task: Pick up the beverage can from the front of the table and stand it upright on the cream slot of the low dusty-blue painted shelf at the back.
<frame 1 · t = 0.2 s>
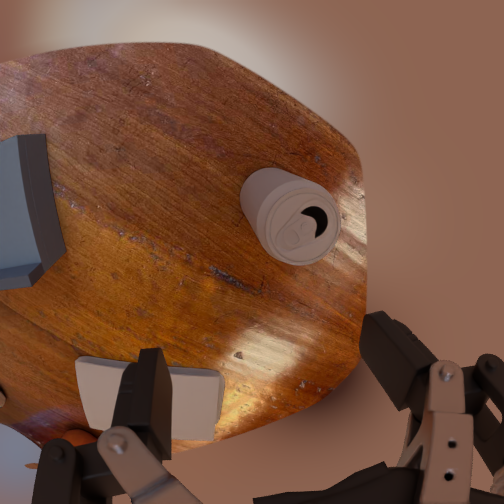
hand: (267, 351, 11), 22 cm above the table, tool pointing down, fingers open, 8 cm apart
beverage can: (267, 196, 31), on the table
fruit: (85, 434, 42), on the table
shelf: (1, 208, 25), on the table
book: (149, 397, 39), on the table
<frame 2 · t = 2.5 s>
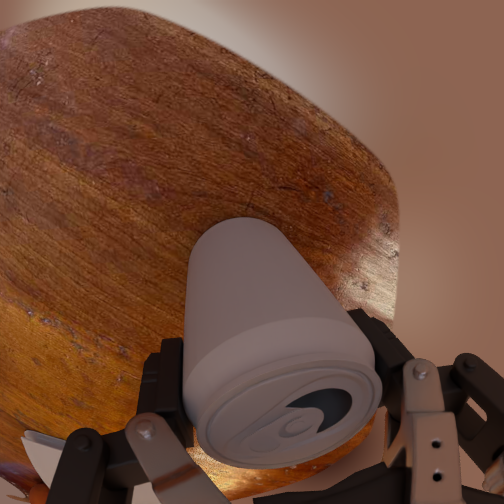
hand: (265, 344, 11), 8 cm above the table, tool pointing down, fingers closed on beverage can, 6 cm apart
beverage can: (239, 263, 18), on the table, touching gripper
fruit: (55, 487, 29), on the table
book: (111, 472, 26), on the table
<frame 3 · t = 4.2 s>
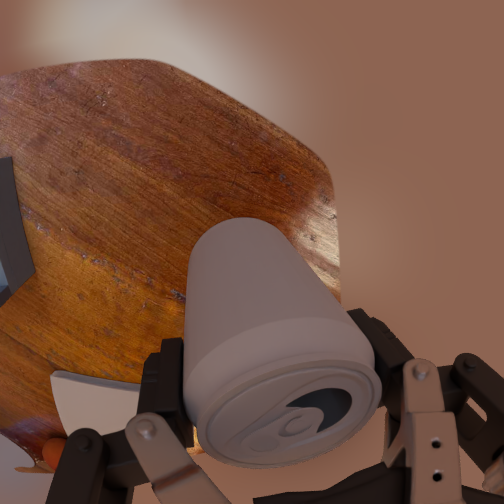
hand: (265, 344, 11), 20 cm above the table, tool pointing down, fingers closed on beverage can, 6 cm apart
beverage can: (239, 263, 18), point 12 cm above the table, touching gripper
fruit: (67, 442, 40), on the table
book: (123, 411, 38), on the table
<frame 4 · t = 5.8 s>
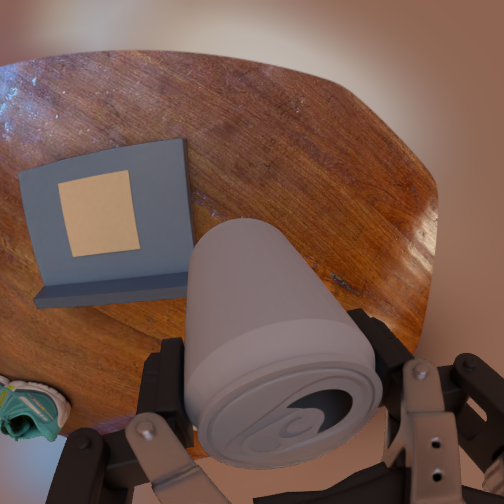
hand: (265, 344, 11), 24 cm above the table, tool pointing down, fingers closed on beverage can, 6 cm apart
beverage can: (240, 263, 18), point 16 cm above the table, touching gripper
running shoe: (18, 389, 38), on the table
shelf: (115, 210, 31), on the table
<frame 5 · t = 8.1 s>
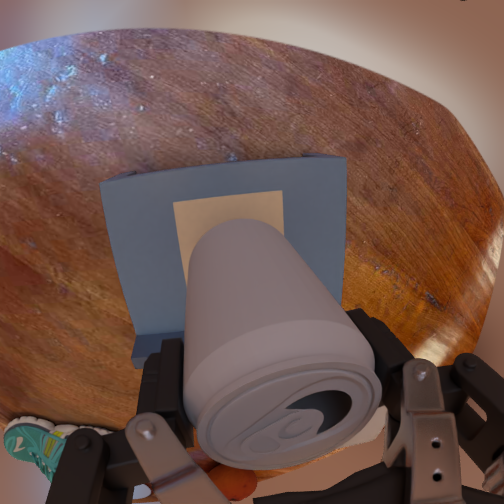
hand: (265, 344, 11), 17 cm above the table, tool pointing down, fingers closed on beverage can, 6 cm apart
beverage can: (239, 264, 18), point 9 cm above the table, touching gripper
fruit: (229, 465, 43), on the table
running shoe: (63, 431, 35), on the table
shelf: (226, 234, 27), on the table
book: (329, 413, 41), on the table
when the fingers open (14 cm above the table, at t = 9.5 s): beverage can stays where it is, resting on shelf.
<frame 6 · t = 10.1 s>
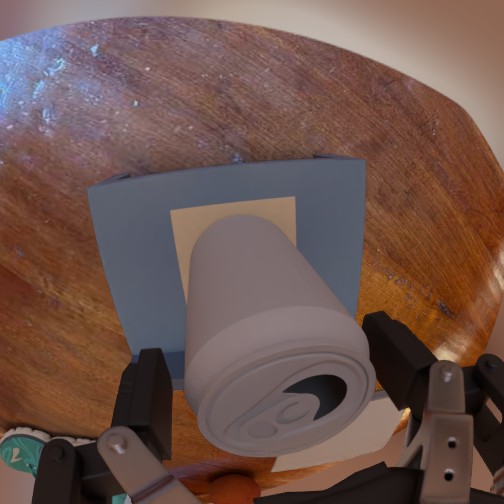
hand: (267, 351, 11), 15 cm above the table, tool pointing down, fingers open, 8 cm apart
beverage can: (240, 259, 19), point 6 cm above the table, touching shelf
fruit: (231, 476, 41), on the table
running shoe: (60, 442, 32), on the table
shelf: (230, 243, 25), on the table
book: (335, 425, 39), on the table
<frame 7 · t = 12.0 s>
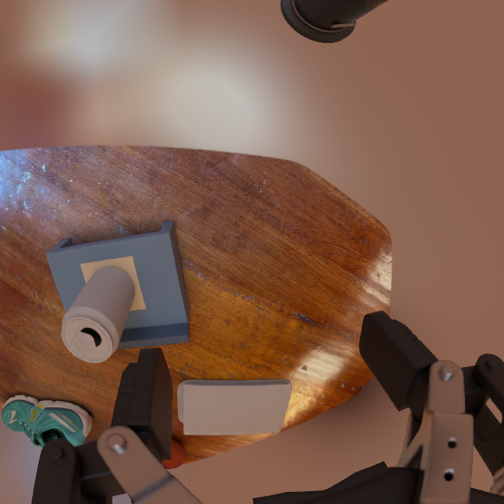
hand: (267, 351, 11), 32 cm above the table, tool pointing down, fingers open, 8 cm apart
beverage can: (113, 286, 35), point 6 cm above the table, touching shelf
fruit: (166, 441, 56), on the table
running shoe: (45, 407, 48), on the table
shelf: (124, 274, 41), on the table
book: (233, 404, 54), on the table
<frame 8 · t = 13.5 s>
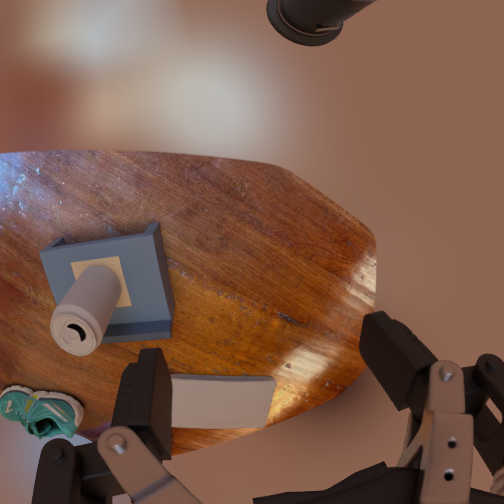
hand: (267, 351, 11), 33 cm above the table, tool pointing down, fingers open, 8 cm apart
beverage can: (101, 283, 37), point 6 cm above the table, touching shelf
running shoe: (40, 397, 50), on the table
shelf: (113, 272, 43), on the table
book: (219, 398, 56), on the table
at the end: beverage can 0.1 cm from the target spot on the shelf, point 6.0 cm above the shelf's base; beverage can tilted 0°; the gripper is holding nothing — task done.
